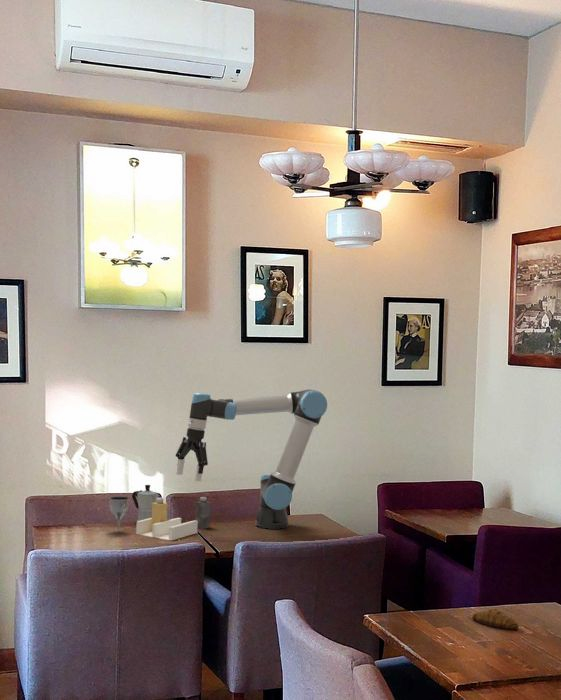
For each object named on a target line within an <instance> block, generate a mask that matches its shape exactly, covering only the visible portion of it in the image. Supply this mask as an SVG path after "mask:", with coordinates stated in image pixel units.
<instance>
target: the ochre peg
mask: <svg viewBox="0 0 561 700" xmlns="http://www.w3.org/2000/svg"><path fill="white" fill-rule="evenodd" d="M164 499H165V498H164V497H157V498H156V503H152V526H151V532H152V531H153V524H156V523H159V522H163V521H167V520H168V502H165V501H164Z"/></svg>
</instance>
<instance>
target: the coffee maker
mask: <svg viewBox="0 0 561 700" xmlns="http://www.w3.org/2000/svg"><path fill="white" fill-rule="evenodd" d="M144 486H145V490H143V489H141V490H136V491H133V493H132V495H131V497H132V498H131V499H132V500H133V502H134V506H135V507H136V509H139V511H138V517H137V521H140V520H144V519H149V518H152V503H156V498H159V495H158V492H157V491H156V492H155V491H153V490H150V488H151V484H145V485H144Z"/></svg>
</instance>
